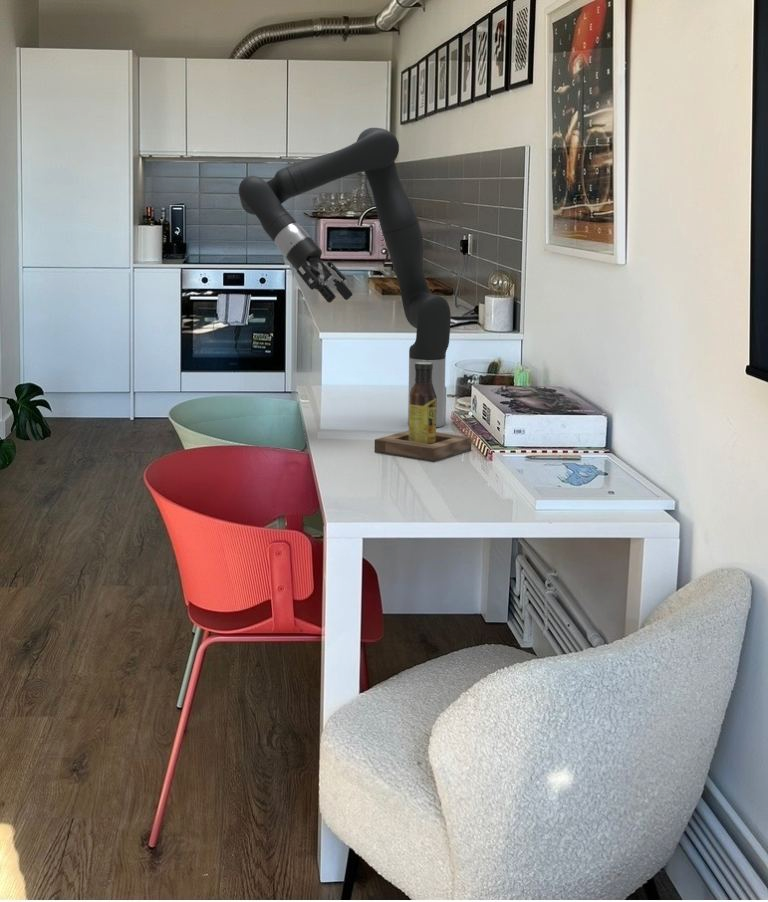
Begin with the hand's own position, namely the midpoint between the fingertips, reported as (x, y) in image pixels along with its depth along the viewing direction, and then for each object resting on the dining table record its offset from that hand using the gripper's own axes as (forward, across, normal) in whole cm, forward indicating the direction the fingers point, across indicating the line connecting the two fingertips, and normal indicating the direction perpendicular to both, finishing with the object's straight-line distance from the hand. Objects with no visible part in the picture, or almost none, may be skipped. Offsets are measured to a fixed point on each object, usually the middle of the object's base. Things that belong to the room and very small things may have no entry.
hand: (341, 298), depth 280 cm
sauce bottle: (+39, -1, +8) cm, 40 cm away
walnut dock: (+39, -1, +8) cm, 40 cm away
